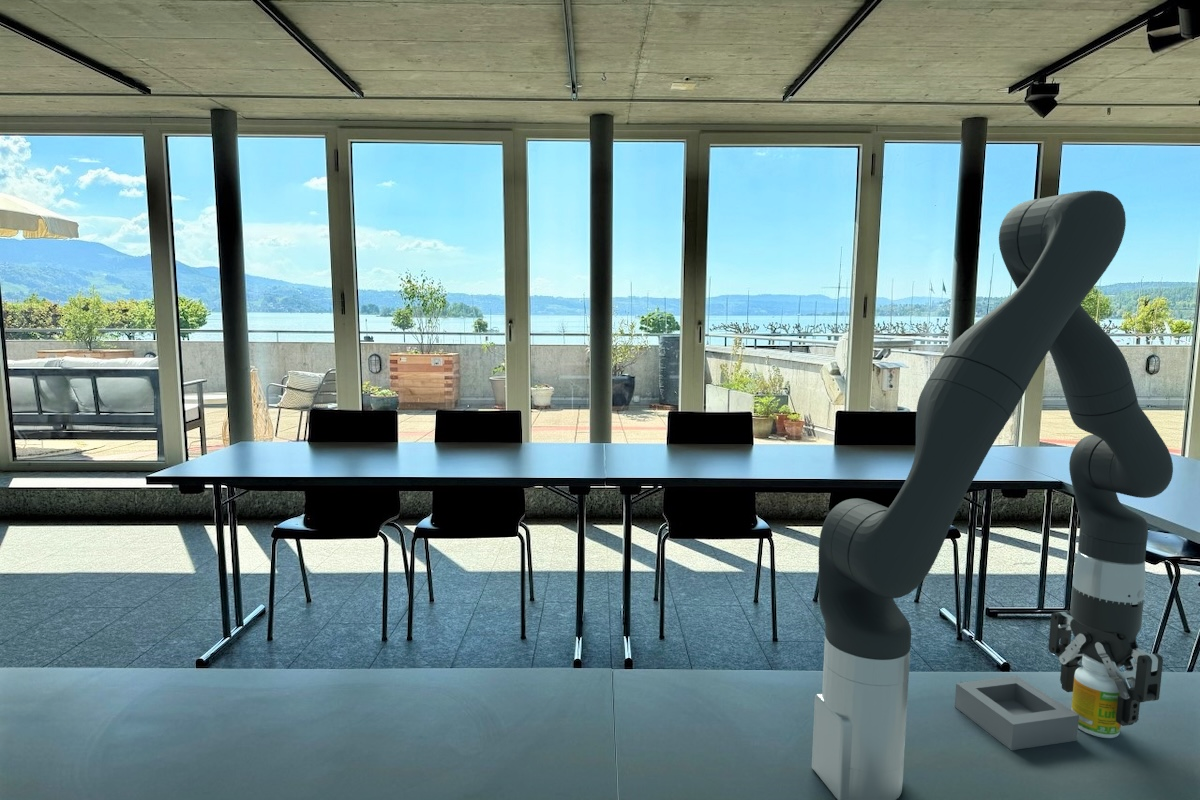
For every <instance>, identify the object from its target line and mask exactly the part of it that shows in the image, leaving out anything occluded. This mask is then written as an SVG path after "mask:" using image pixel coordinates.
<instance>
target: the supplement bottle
mask: <svg viewBox="0 0 1200 800" xmlns="http://www.w3.org/2000/svg"><path fill="white" fill-rule="evenodd" d="M1118 670H1119V671H1120V667H1118ZM1118 696H1121V695H1120V693H1119V690H1118V688H1117V686H1116V683H1115V681H1114V680H1112V679H1111V678H1110V677H1109V675H1108V672H1107V670H1106V668H1105V665H1104V664H1102V663H1100V662H1098V661H1096V660H1095V659H1093V658H1091V657H1089V656H1087V655H1085V654H1083V656H1082V661H1081V667H1079V668H1077V669H1076V671H1075V675H1074V686H1073V692H1072V699H1071V709H1070V710H1072V711H1073V712H1075V713H1076V714H1078V715H1079V723H1078V729H1079V730H1080V731H1081V732H1084V733H1086V734H1088V735H1091V736H1094V737H1097V738H1103V739H1114V738H1117V737H1118V736H1119V735H1120V733H1121V727H1122V725H1120V724H1119V723H1117V722H1116V712H1117V702H1118Z"/></svg>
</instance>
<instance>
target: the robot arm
mask: <svg viewBox="0 0 1200 800" xmlns="http://www.w3.org/2000/svg"><path fill="white" fill-rule="evenodd" d="M1126 221H1127V219H1126V211H1125V208H1124V205H1123V204H1122V202H1121V200H1120V199H1119V198H1118V197H1117V196H1116V195H1114V194H1113V193H1110V192H1107V191H1105V190H1082V191H1081V190H1080V191H1073V192H1068V193H1064V194H1063V193H1062V194H1058V195H1057V194H1056V195H1052V196H1046V197H1041V198H1035V199H1031V200H1027V201H1023V202H1021V203H1019V204H1016V205H1015V206H1013V207H1012V208H1011V209H1010V210H1009V211H1008V212H1007V213H1006V215H1005V216H1004V218H1003V220H1001V224H1000V227H999V232H998V245H999V250H1000V254H1001V258H1002V260H1003V263H1004V265H1005V267H1006V269H1007V271H1008V274H1009V276H1010V278H1011V280H1012V282H1013V284H1014V286H1015V288H1016V290H1015V291H1014V292H1013V293H1012V294H1011V295H1010V296H1008V298H1006V299H1005V300H1004V301H1002V303H1000V304H999V305H997V307H995V308H994V309H992V310H991V311H990V312H988V313H987V314H986V315H984V316H983V317H982V318H980V319H979V320H977V322H975V323H974V324H972V325H971V326H970V327H969V328H968V329H966V330H965V331H964V332H962V334H961V335H960V336H958V337H957V338H956V339H955V340H954V341H952V343H951V344H950V345H949V347H948V348H946V350H945V352H944V353H943V355H942V356H941V358H940V359H939V361H938V362H937V364H936V366H935V367H934V369H933V371H932V373H931V374H930V376H929V377H928V379H927V381H926V382H925V385H924V386H923V388H922V390H921V392H920V395H919V397H918V401H917V404H916V414H915V415H916V416H915V451H914V458H913V462H912V465H911V468H910V470H909V473H908V475H907V477H906V479H905V481H904V483H903V484H902V486H901V488H900V490H899V492H898V493H897V495H896V496H895V498H894V500H893V501H892V503H891V504H890V505H889V506H888V507H887V506H884V505H882V504H879V503H877V502H874V501H871V500H868V499H864V498H858V497H857V498H849V499H845V500H842V501H841V502H839V503H838V504H836V505H835V506H834V507H833V508H832V509H831V510H830V511H829V513H828V514H827V516H826V517H825V520H824V522H823V525H822V527H821V530H820V535H819V541H818V542H819V543H818V602H819V603H818V604H819V608H820V612H821V615H822V618H823V620H824V647H823V648H824V649H823V669H822V687H821V688H822V690H821V691H822V692H821V693H816V694H815V696H814V708H813V711H814V712H813V729H812V731H813V733H812V752H811V753H812V754H811V757H812V758H811V768H812V769H813V771H814V772H815V773H816V775H817V776H818V777H819V779H820V780H821V781H822V782H823V784H824V785H825V786H826V787H827V788H828V790H829V791H830V792H831V794H833V796H834V797H835V798H836V799H837V800H898V799H899V797H900V796H901V794H902V791H903V781H904V763H905V747H906V746H905V743H906V731H907V730H906V729H907V726H906V725H907V715H908V714H907V713H908V711H907V709H908V693H909V679H910V678H909V677H910V663H911V662H910V659H911V645H912V628H911V625H910V624H911V623H910V622H909V621H908V619H907V617H906V616H905V614H904V613H903V612H902V611H901V609H900V608H899V606H898V605H897V603H896V601H895V599H899V598H902V597H904V596H907V595H909V594H910V593H912V592H913V591H914V590H915V589H917V588H918V587H919V586H920V584H922V582H923V581H924V580H925V579H926V578H927V576H928V574H929V572H930V571H931V569H932V567H933V566H934V564H935V562H936V560H937V557H938V556H939V553H940V551H941V548H942V547H943V544H944V542H945V540H946V537H947V536H948V533H949V531H950V529H951V527H952V524H953V522H954V520H955V517H956V515H957V513H958V510H959V509H960V506H961V504H962V502H963V500H964V498H965V496H966V494H967V492H968V490H969V488H970V487H971V484H972V482H973V481H974V479H975V478H976V476H977V473H978V472H979V470H980V468H981V466H982V465H983V462H984V461H985V459H986V457H987V455H988V453H989V452H990V450H991V448H992V446H993V445H994V443H995V441H996V440H997V438H998V436H999V435H1000V433H1001V432H1002V431H1003V429H1004V427H1005V426H1006V425H1007V423H1008V421H1009V419H1010V418H1011V417H1012V415H1013V413H1014V411H1015V409H1016V408H1017V406H1018V404H1020V403H1019V402H1020V401H1021V399H1022V398H1023V396H1024V394H1025V392H1026V390H1027V388H1028V386H1029V384H1030V383H1031V381H1032V379H1033V377H1034V375H1035V374H1036V372H1037V370H1038V369H1039V367H1040V365H1041V364H1042V363H1043V361H1044V359H1045V357H1046V356H1047V354H1048V352H1049V353H1050V355H1051V358H1052V361H1053V363H1054V366H1055V368H1056V371H1057V374H1058V378H1059V382H1060V385H1061V387H1062V388H1061V389H1062V391H1063V395H1064V398H1065V402H1066V405H1067V408H1068V410H1069V411H1068V412H1069V414H1070V415H1069V416H1070V418H1071V420H1072V422H1073V424H1074V425H1075V426H1076V427H1078V428H1079V429H1080V430H1082V431H1083V432H1086V433H1089V435H1087V436H1084V437H1082V438H1081V439H1080V440H1079V441H1078V442H1077V443H1076V444H1075V446H1074V448H1073V449H1072V451H1071V454H1070V457H1069V464H1068V466H1069V467H1068V469H1069V475H1070V481H1071V484H1072V485H1071V486H1072V489H1073V492H1074V493H1073V494H1074V498H1075V503H1076V508H1077V511H1078V516H1079V520H1080V523H1079V533H1078V534H1079V535H1078V544H1077V552H1076V558H1075V562H1074V565H1073V566H1074V567H1073V577H1072V585H1071V586H1072V588H1071V598H1070V599H1071V600H1070V609H1069V610H1068V611H1058V612H1052V613H1051V615H1050V623H1049V624H1050V626H1049V628H1050V629H1049V634H1048V635H1049V637H1048V647H1047V648H1048V651H1049V652H1050V653H1051V654H1053V655H1056V656H1057V658H1058V660H1059V662H1060V664H1061V665H1060V677H1059V681H1060V684H1061V689H1062V690H1063V691H1064V692H1066V693H1073V686H1074V675H1075V671H1076V669H1077V668H1079V667H1082V664H1079V663H1082V656H1083V654H1085V655H1087V656H1089V657H1091V658H1093V659H1095V660H1096V661H1098V662H1100V663H1102V664H1104V665H1105V668H1106V670H1107V672H1108V675H1109V677H1110V678H1111V679H1112V680H1114V681H1115V683H1116V686H1117V688H1118V690H1119V693H1120V695H1121V696H1118V702H1117V712H1116V722H1117V723H1119V724H1120V725H1121V727H1126V726H1132V725H1134V724H1135V723H1137V722H1138V721H1139V717H1140V716H1139V715H1140V706H1141V703H1146V702H1152V701H1153V702H1155V701H1158V700H1159V699H1160V696H1161V695H1160V694H1161V685H1162V675H1163V666H1164V665H1163V664H1164V658H1163V657H1162V656H1161V654H1159V653H1149V652H1147V651H1145V650H1143V649H1141V648H1139V644H1138V640H1137V636H1138V634H1139V632H1140V630H1141V629H1142V621H1143V611H1144V603H1145V592H1146V591H1145V590H1146V583H1147V582H1146V580H1147V578H1146V577H1147V575H1146V555H1147V545H1148V539H1149V538H1148V536H1149V526H1148V525H1149V524H1148V522H1147V520H1146V519H1145V518H1144V517H1143V516H1142V515H1140V514H1139V513H1137V512H1134V510H1130V509H1129V508H1127V507H1126V506H1124V505H1123V504H1122V503H1121V501H1120V500H1119V497H1118V494H1121V495H1124V496H1130V497H1134V498H1139V499H1140V498H1143V499H1146V498H1147V499H1148V498H1155V497H1156V496H1159V495H1160V494H1162V493H1163V492H1164V491H1165V490H1166V489H1167V488H1169V485H1170V483H1171V481H1172V479H1173V473H1174V465H1173V460H1172V455H1171V454H1170V451H1169V448H1168V446H1167V445H1166V443H1165V442H1164V439H1163V438H1162V437H1161V435H1160V434H1159V433H1158V431H1157V429H1156V427H1154V425H1153V424H1152V422H1151V420H1150V418H1149V417H1148V416H1147V415H1146V412H1144V410H1143V409H1142V408H1141V406H1140V404H1139V400H1138V396H1137V392H1136V389H1135V385H1134V382H1133V377H1132V374H1131V370H1130V367H1129V365H1128V363H1127V360H1126V358H1125V356H1124V354H1123V353H1122V350H1121V349H1120V348H1119V347H1118V346H1119V345H1117V343H1115V341H1114V340H1113V339H1112V338H1111V337H1110V336H1109V335H1108V333H1106V331H1105V330H1104V329H1103V328H1102V327H1101V325H1099V324H1098V323H1097V322H1096V320H1094V319H1093V318H1092V317H1091V315H1090V314H1089V313H1088V312H1087V311H1086V310H1085V309H1084V307H1083V305H1082V302H1083V301H1084V300H1085V299H1086V297H1087V296H1088V294H1089V293H1090V292H1091V291H1092V289H1093V288H1094V287H1095V285H1096V284H1097V282H1098V281H1099V280H1100V279H1101V278H1102V276H1103V274H1104V273H1105V272H1106V271H1107V269H1108V268H1109V266H1110V264H1111V263H1112V262H1113V260H1114V258H1115V257H1116V255H1117V253H1118V251H1119V249H1120V246H1121V244H1122V242H1123V239H1124V235H1125V232H1126V224H1127V223H1126ZM1072 634H1073V637H1074V639H1073V640H1072ZM1123 666H1124V668H1125V669H1124V671H1120V669H1119V670H1118V667H1119V668H1121V667H1123Z"/></svg>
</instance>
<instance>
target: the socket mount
mask: <svg viewBox="0 0 1200 800" xmlns="http://www.w3.org/2000/svg"><path fill="white" fill-rule="evenodd" d="M954 694H955V697H954V707H955V709H957V710H958V711H960V713H962V714H963V715H965V716H966V717H967V718H968V719H970V720H971V721H972V722H974V723H975V725H978V727H980V728H981V729H983V730H984V731H986V732H987V734H988V735H989V734H990V735H991V736H992V737H993V738H994V739H996V740H997V741H998V742H999V743H1001V744H1003V746H1005V747H1006V748H1007V749H1009V750H1010V751H1016V750H1022V749H1029V748H1037V747H1044V746H1048V745H1051V746H1052V745H1057V744H1063V743H1069V742H1070V743H1071V742H1077V741H1078V734H1079V730H1078V729H1079V728H1078V723H1079V715H1078V714H1076V713H1075V712H1073V711H1072V710H1071V709H1070V708H1069V707H1067V706H1066V705H1064V704H1062V703H1060V702H1059V701H1057V700H1056V699H1055V698H1053V697H1051V696H1050V695H1048V694H1047V693H1045V692H1043V691H1042V690H1040V689H1038V688H1037V687H1036V686H1034V685H1032V684H1030V683H1029V682H1027V681H1026V680H1024V679H1023V678H1021V677H1019V676H1018V675H1013V676H1004V677H997V678H996V677H995V678H989V679H988V678H987V679H981V680H972V681H964V682H962V681H961V682H956V683H955V693H954Z"/></svg>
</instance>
